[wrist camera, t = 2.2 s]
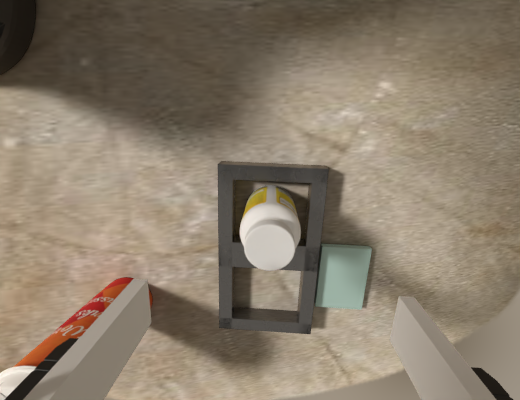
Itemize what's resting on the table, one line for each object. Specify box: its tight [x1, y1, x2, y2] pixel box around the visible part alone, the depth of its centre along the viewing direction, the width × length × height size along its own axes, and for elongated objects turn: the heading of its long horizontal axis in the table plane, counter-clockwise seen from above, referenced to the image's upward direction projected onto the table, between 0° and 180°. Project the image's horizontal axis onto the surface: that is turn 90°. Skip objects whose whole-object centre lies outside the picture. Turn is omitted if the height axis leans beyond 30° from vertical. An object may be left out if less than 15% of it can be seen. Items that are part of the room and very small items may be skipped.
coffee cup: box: [0, 277, 153, 400], centre depth 27 cm, size 8×8×15 cm
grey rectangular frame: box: [218, 161, 329, 334], centre depth 30 cm, size 20×11×2 cm, turn 178°
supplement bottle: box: [240, 185, 301, 271], centre depth 25 cm, size 5×5×10 cm
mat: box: [315, 244, 372, 310], centre depth 31 cm, size 8×6×1 cm
